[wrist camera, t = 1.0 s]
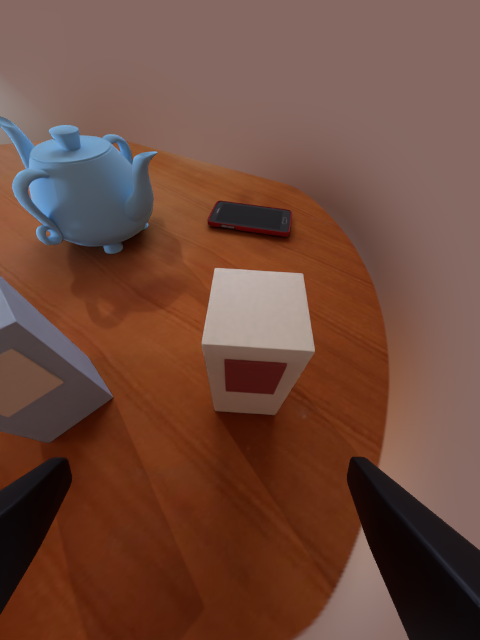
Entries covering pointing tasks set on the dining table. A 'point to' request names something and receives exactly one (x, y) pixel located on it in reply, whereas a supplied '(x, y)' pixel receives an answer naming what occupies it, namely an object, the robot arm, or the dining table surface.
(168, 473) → the dining table surface
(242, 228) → the cell phone
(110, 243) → the teapot
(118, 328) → the dining table surface
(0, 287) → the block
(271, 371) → the cream block
